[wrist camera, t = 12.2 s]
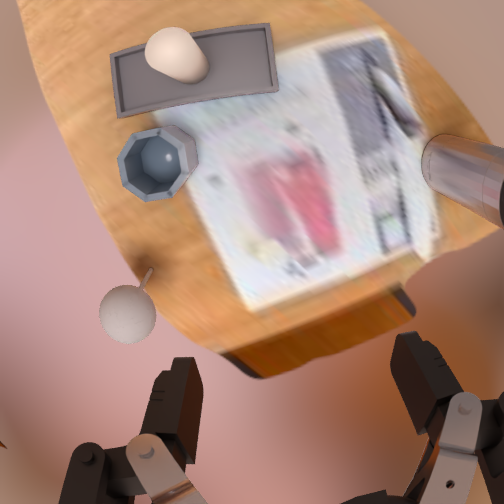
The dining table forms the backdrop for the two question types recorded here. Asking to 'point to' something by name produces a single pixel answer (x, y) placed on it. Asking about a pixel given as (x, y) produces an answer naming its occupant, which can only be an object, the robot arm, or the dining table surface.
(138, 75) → the tray
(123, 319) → the lollipop
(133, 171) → the grey octagonal collar
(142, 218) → the dining table surface
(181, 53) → the peg
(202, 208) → the dining table surface
